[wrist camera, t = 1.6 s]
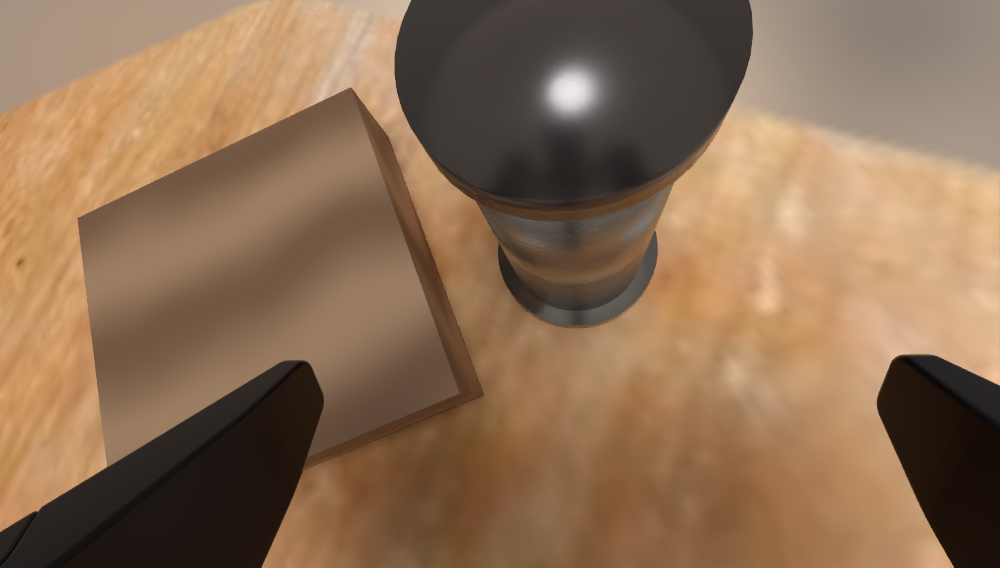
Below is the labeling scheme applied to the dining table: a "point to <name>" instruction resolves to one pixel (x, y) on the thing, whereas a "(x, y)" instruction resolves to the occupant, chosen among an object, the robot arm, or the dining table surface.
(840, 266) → the dining table surface
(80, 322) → the dining table surface
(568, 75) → the cylinder
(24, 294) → the dining table surface
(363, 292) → the stand
